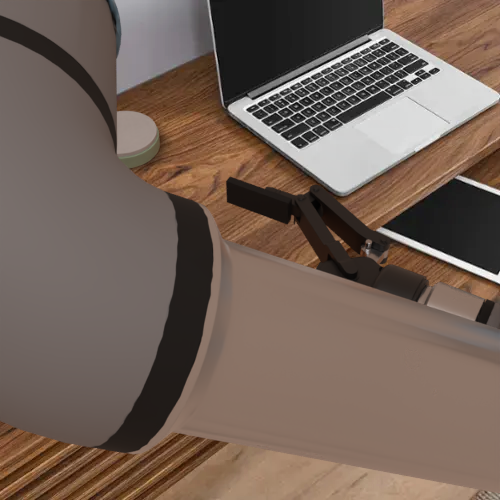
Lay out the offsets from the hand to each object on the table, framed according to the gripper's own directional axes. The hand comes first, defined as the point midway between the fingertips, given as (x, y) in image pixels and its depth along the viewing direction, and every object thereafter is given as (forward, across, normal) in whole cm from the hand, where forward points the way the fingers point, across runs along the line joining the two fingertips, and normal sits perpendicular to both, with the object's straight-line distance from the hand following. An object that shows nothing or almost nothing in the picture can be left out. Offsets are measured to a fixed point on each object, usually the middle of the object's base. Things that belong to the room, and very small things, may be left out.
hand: (190, 234), depth 68 cm
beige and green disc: (+24, +20, -13) cm, 34 cm away
